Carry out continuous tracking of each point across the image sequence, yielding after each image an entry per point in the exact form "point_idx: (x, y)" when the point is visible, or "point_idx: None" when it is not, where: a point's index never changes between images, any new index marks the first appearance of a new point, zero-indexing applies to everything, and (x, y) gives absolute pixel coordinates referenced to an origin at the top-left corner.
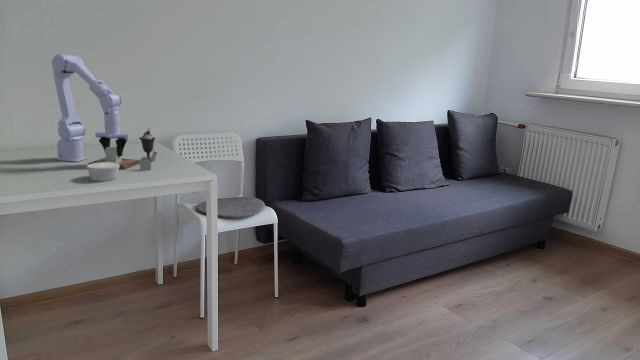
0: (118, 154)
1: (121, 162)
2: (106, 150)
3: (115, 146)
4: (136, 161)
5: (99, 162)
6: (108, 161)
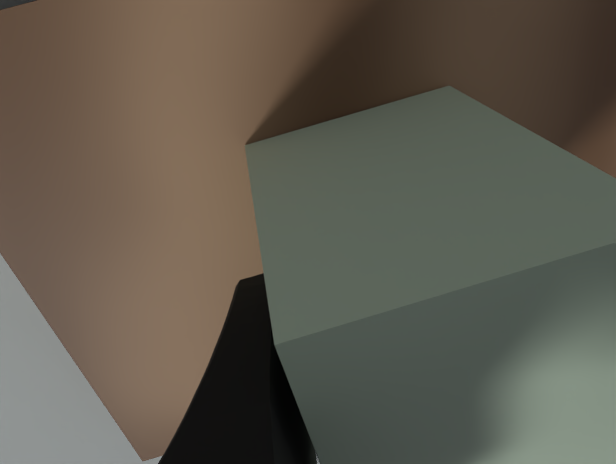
0: (253, 294)
1: (210, 229)
2: (583, 193)
3: None
4: (105, 400)
5: (554, 6)
6: (407, 105)
